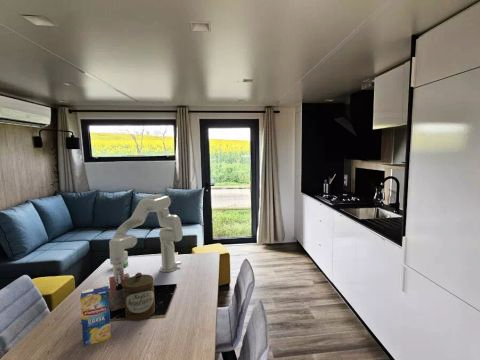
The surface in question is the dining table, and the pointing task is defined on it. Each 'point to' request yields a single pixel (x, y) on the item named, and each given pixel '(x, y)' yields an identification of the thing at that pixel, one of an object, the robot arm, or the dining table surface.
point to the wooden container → (139, 297)
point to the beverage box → (95, 315)
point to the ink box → (125, 259)
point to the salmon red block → (113, 284)
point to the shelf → (118, 299)
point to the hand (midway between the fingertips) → (119, 290)
